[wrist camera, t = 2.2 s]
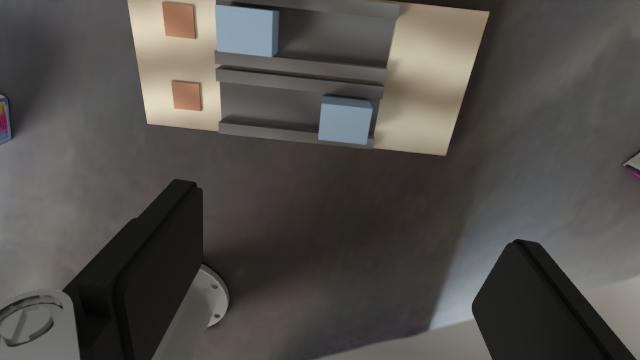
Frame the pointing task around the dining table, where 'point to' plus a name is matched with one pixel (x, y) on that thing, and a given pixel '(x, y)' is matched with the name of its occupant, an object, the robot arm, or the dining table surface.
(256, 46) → the tab
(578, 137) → the dining table surface
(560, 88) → the dining table surface
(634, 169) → the candy bar box
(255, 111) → the switch board
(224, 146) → the dining table surface
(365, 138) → the tab
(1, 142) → the ink cartridge box
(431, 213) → the dining table surface
